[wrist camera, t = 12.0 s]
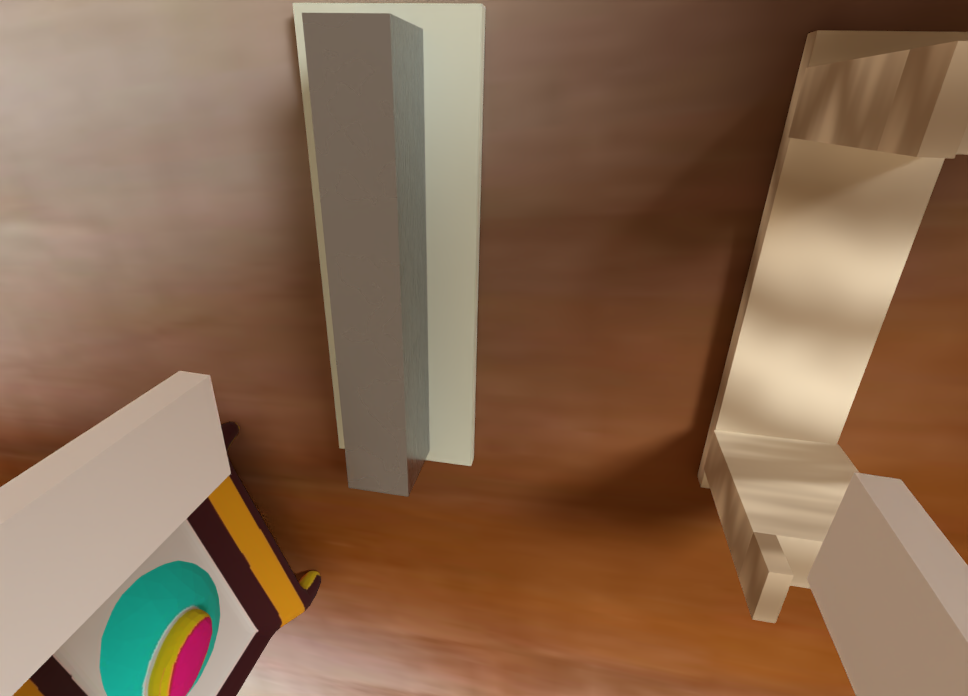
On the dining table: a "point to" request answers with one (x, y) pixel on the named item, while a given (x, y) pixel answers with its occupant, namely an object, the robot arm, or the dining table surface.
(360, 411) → the rail
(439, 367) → the mat
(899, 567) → the robot arm
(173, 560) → the decorative lantern
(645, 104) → the dining table surface
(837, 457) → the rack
